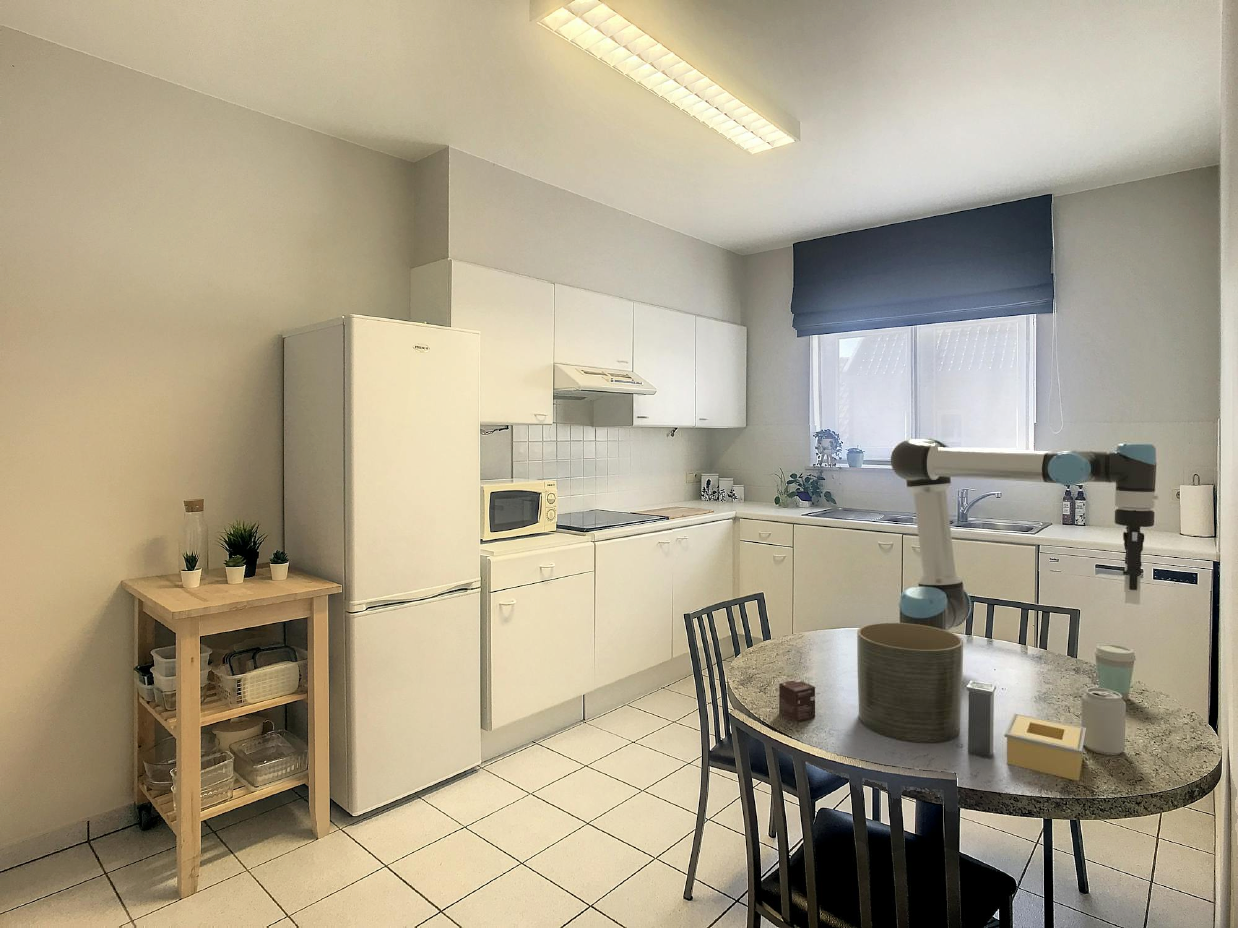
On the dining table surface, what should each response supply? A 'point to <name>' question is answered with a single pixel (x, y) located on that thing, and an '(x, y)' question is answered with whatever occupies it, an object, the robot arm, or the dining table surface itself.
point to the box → (797, 700)
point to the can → (1104, 721)
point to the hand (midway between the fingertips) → (1131, 597)
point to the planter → (910, 681)
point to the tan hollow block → (1045, 746)
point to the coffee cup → (1115, 668)
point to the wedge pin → (980, 719)
